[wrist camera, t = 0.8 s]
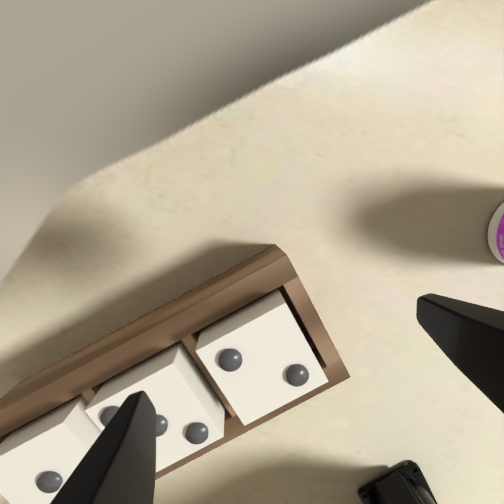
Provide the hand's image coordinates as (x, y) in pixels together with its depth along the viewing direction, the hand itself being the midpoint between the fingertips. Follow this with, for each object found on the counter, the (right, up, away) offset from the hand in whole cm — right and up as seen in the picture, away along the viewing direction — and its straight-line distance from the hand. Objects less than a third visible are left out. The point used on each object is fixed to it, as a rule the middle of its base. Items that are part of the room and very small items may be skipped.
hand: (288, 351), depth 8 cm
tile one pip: (-14, -11, +10) cm, 20 cm away
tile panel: (-7, -6, +14) cm, 17 cm away
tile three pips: (-7, -7, +10) cm, 14 cm away
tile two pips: (-1, -3, +10) cm, 11 cm away
